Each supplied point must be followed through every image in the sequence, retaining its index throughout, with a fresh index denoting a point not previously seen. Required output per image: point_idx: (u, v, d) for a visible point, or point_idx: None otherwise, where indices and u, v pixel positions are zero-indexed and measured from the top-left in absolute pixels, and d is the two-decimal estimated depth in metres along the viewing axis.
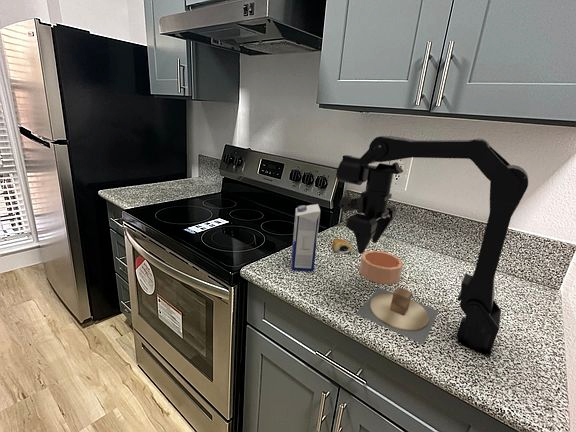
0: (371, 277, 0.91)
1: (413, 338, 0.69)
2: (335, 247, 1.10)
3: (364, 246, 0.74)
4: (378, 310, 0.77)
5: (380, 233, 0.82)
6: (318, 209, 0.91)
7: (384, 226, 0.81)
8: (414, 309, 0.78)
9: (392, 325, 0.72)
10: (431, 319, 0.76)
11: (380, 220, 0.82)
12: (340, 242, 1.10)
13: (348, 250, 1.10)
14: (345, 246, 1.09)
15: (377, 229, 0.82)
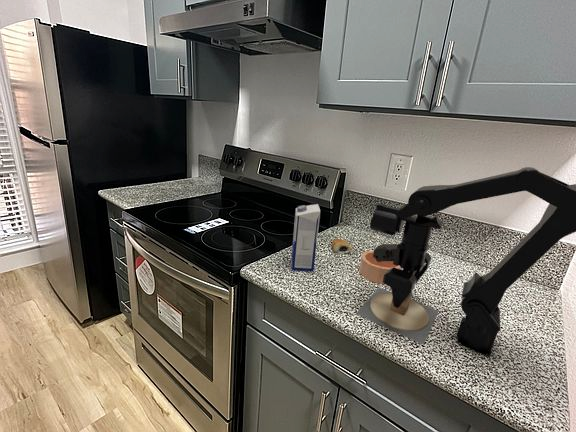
0: (371, 277, 0.91)
1: (413, 338, 0.69)
2: (335, 247, 1.10)
3: (401, 301, 0.71)
4: (378, 310, 0.77)
5: None
6: (318, 209, 0.91)
7: (419, 276, 0.78)
8: (414, 309, 0.78)
9: (392, 325, 0.72)
10: (431, 319, 0.76)
11: None
12: (340, 242, 1.10)
13: (348, 250, 1.09)
14: (345, 246, 1.09)
15: None
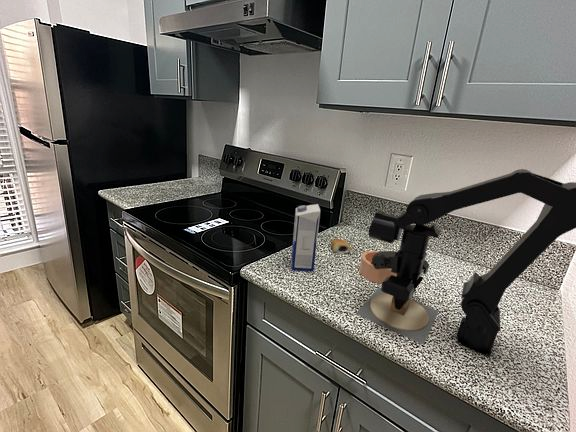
0: (371, 277, 0.91)
1: (413, 338, 0.69)
2: (334, 247, 1.09)
3: (402, 303, 0.74)
4: (378, 310, 0.77)
5: None
6: (318, 209, 0.91)
7: (414, 287, 0.76)
8: (414, 309, 0.78)
9: (392, 325, 0.72)
10: (431, 319, 0.76)
11: None
12: (339, 242, 1.10)
13: (347, 250, 1.09)
14: (344, 246, 1.09)
15: None
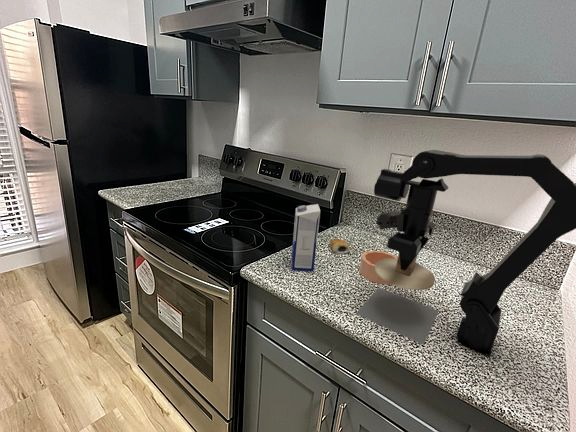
0: (371, 277, 0.91)
1: (413, 338, 0.69)
2: (333, 247, 1.09)
3: (408, 263, 0.72)
4: (383, 271, 0.75)
5: None
6: (318, 209, 0.91)
7: (420, 247, 0.75)
8: (420, 271, 0.77)
9: (398, 284, 0.70)
10: (431, 319, 0.76)
11: None
12: (338, 242, 1.10)
13: (346, 250, 1.09)
14: (343, 246, 1.09)
15: None
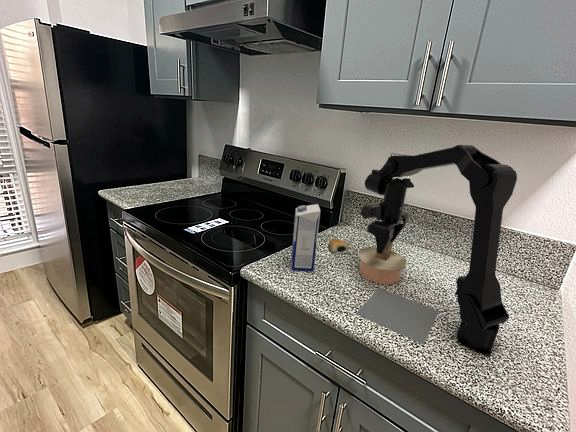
0: (371, 277, 0.91)
1: (413, 338, 0.69)
2: (332, 248, 1.09)
3: (383, 247, 0.88)
4: (365, 257, 0.93)
5: (394, 237, 0.95)
6: (318, 209, 0.91)
7: (397, 231, 0.94)
8: (395, 257, 0.95)
9: (376, 266, 0.89)
10: (431, 319, 0.76)
11: (394, 226, 0.95)
12: (337, 242, 1.10)
13: (345, 250, 1.09)
14: (343, 246, 1.08)
15: (391, 234, 0.95)
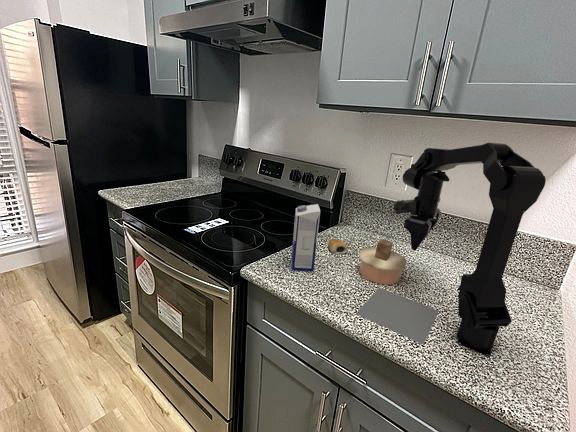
0: (371, 277, 0.91)
1: (413, 338, 0.69)
2: (332, 248, 1.09)
3: (418, 244, 0.86)
4: (365, 257, 0.93)
5: None
6: (318, 209, 0.91)
7: (431, 226, 0.93)
8: (395, 257, 0.95)
9: (376, 266, 0.89)
10: (431, 319, 0.76)
11: None
12: (336, 243, 1.10)
13: (345, 250, 1.09)
14: (342, 247, 1.08)
15: None
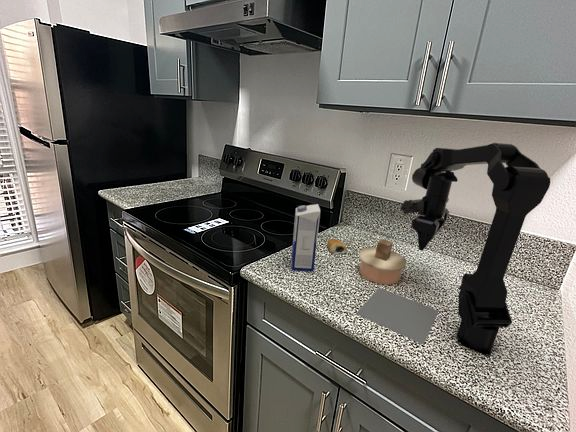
0: (371, 277, 0.91)
1: (413, 338, 0.69)
2: (331, 248, 1.09)
3: (425, 244, 0.85)
4: (365, 257, 0.93)
5: None
6: (318, 209, 0.91)
7: (439, 226, 0.92)
8: (395, 257, 0.95)
9: (376, 266, 0.89)
10: (431, 319, 0.76)
11: None
12: (336, 243, 1.10)
13: (344, 250, 1.09)
14: (341, 247, 1.08)
15: None
